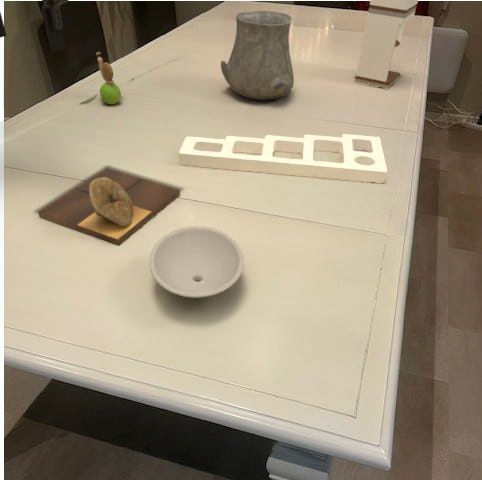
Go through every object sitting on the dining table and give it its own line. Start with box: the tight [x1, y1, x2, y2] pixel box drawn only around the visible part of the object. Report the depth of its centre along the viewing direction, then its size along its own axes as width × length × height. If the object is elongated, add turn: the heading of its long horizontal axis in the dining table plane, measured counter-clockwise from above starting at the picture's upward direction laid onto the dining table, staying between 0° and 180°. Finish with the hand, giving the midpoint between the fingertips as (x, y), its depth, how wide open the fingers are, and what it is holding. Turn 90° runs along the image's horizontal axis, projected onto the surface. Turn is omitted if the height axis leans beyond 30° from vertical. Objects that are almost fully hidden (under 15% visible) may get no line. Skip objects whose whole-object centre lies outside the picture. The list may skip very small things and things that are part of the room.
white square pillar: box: [354, 0, 419, 90], centre depth 141 cm, size 11×11×35 cm
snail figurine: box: [95, 51, 122, 105], centre depth 127 cm, size 5×6×12 cm
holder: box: [178, 133, 388, 184], centre depth 111 cm, size 45×18×3 cm, turn 83°
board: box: [37, 167, 181, 246], centre depth 92 cm, size 18×20×1 cm
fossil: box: [89, 177, 133, 226], centre depth 86 cm, size 9×4×10 cm
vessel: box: [220, 10, 295, 101], centre depth 133 cm, size 22×22×20 cm
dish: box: [148, 225, 245, 299], centre depth 75 cm, size 18×14×5 cm
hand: (27, 43), depth 85 cm, fingers open, 13 cm apart
